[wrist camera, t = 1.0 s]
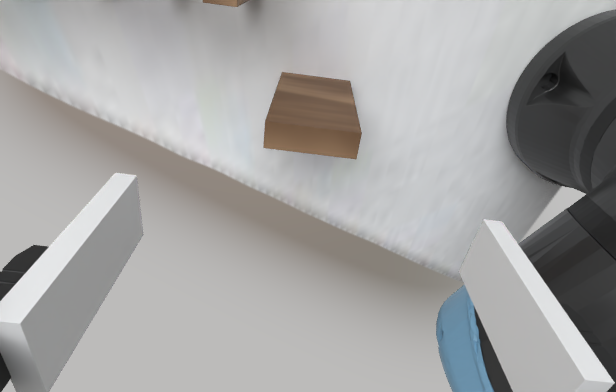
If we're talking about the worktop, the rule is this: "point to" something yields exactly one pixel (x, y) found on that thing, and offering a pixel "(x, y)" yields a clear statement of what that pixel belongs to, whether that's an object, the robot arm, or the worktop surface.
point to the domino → (226, 2)
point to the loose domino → (313, 117)
